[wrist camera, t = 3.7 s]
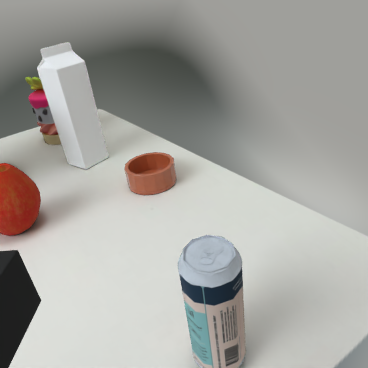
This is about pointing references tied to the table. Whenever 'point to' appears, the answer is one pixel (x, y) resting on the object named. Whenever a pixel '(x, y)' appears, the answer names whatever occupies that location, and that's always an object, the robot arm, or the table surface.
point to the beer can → (214, 301)
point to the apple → (17, 200)
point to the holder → (150, 173)
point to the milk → (72, 105)
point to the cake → (43, 111)
